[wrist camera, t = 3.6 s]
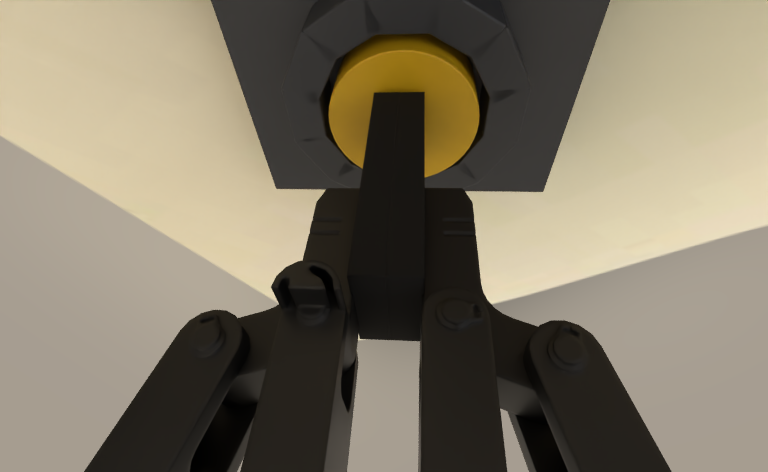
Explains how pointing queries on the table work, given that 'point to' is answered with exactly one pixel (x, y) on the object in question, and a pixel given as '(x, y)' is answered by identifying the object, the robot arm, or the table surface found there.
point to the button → (407, 74)
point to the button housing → (413, 16)
